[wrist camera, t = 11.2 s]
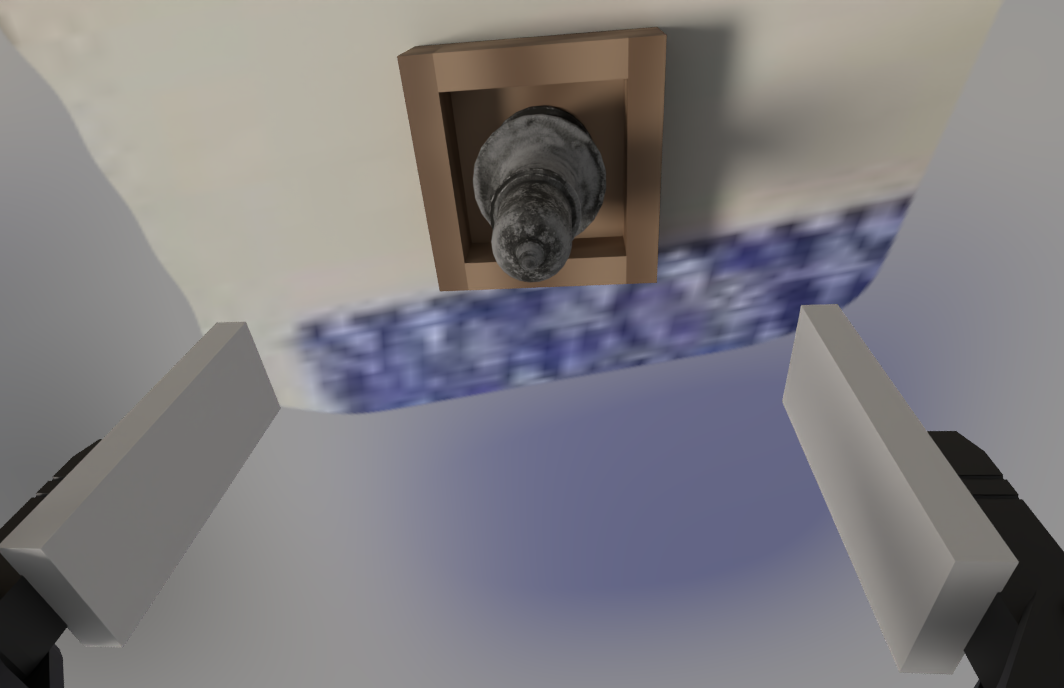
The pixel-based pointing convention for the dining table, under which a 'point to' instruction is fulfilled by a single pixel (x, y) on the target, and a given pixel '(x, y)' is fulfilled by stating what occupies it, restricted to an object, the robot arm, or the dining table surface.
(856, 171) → the dining table surface
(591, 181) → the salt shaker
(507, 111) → the walnut holder
